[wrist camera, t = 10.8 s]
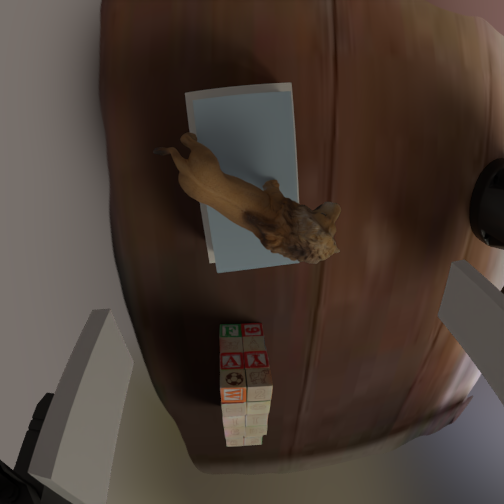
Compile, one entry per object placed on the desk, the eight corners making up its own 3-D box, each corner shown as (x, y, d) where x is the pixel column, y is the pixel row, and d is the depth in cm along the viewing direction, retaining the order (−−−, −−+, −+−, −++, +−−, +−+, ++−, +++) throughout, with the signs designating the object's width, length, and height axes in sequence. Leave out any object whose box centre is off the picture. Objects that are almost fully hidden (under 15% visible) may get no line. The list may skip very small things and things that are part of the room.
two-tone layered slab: (281, 85, 30) (301, 79, 22) (291, 233, 39) (309, 270, 31) (190, 94, 30) (179, 90, 22) (210, 243, 38) (208, 282, 30)
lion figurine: (323, 186, 27) (365, 223, 19) (297, 236, 29) (325, 290, 21) (165, 121, 23) (137, 130, 15) (144, 179, 25) (111, 216, 17)
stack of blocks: (256, 404, 54) (263, 459, 43) (223, 406, 54) (226, 461, 43) (261, 321, 45) (273, 386, 34) (218, 322, 44) (219, 389, 33)
